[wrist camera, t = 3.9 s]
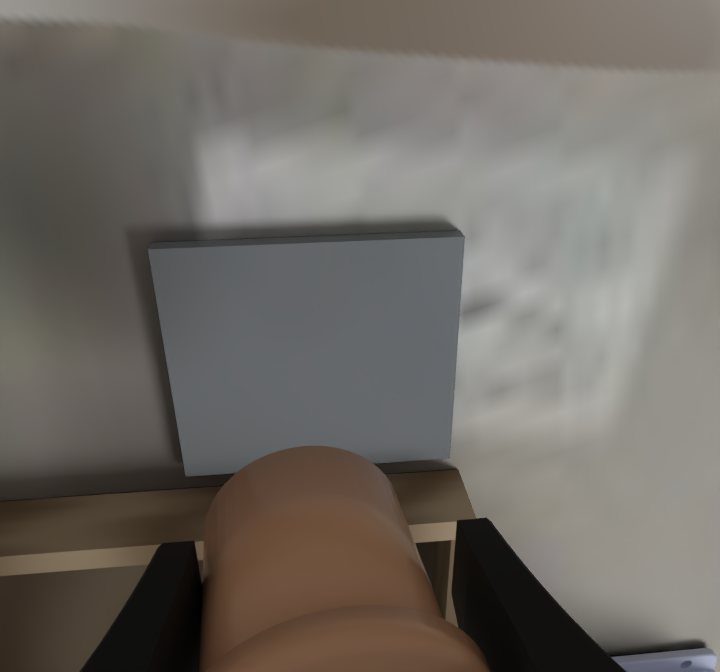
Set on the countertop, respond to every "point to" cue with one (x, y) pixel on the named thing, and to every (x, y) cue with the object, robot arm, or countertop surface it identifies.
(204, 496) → the brown rectangular frame
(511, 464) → the countertop surface
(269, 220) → the countertop surface
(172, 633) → the robot arm
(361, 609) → the pot
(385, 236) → the slate mat
